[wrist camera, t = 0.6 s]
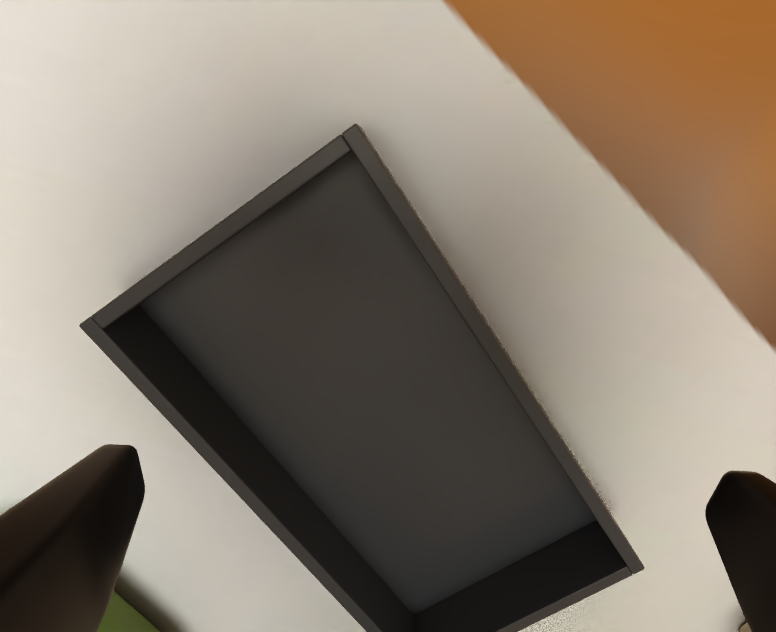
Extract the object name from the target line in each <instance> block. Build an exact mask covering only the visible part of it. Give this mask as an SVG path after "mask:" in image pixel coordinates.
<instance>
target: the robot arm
mask: <svg viewBox="0 0 776 632" xmlns="http://www.w3.org/2000/svg"><path fill="white" fill-rule="evenodd" d="M144 493H145V484H144V479H143V475H142V470H141V466H140V461H139V457H138V453H137V450H136V449H135V448H134V447H133V446H130V445H111V444H109V445H104V446H102V447H100V448H98V449H97V450H95V451H94V452H92V453H91V454H89V455H88V456H86V457H85V458H84V459H82V460H81V461H79V462H78V463H76V464H75V465H73V466H72V467H70V468H69V469H68V470H66V471H65V472H63V473H62V474H60V475H59V476H57V477H56V478H54V479H53V480H51V481H50V482H49V483H47V484H46V485H44V486H43V487H41V488H40V489H38V490H37V491H35V492H34V493H33V494H31V495H30V496H28V497H27V498H25V499H24V500H22V501H21V502H19V503H18V504H17V505H15V506H14V507H12V508H11V509H9V510H8V511H6V512H5V513H3V514H2V515H0V632H97V631H98V628H99V626H100V624H101V621H102V619H103V617H104V614H105V612H106V610H107V607H108V605H109V602H110V599H111V596H112V593H113V591H114V588H115V585H116V582H117V579H118V576H119V573H120V570H121V567H122V563H123V560H124V557H125V554H126V551H127V548H128V545H129V542H130V539H131V536H132V533H133V530H134V527H135V524H136V521H137V518H138V515H139V512H140V509H141V506H142V503H143V499H144ZM706 520H707V524H708V526H709V529H710V531H711V534H712V536H713V539H714V541H715V544H716V546H717V549H718V551H719V554H720V556H721V559H722V561H723V564H724V566H725V569H726V572H727V574H728V577H729V579H730V582H731V584H732V587H733V589H734V592H735V594H736V597H737V599H738V602H739V604H740V607H741V609H742V611H743V614H744V616H745V618H746V621H747V623H748V625H749V627H750V629H751V631H752V632H776V483H774V482H772V481H771V480H769V479H767V478H766V477H764V476H763V475H761V474H759V473H756V472H750V471H729V472H727V473H725V474H724V475H723V477H722V478H721V480H720V482H719V484H718V485H717V487H716V489H715V491H714V493H713V495H712V496H711V498H710V500H709V502H708V504H707V506H706Z"/></svg>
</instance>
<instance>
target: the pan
mask: <svg viewBox="0 0 776 632" xmlns="http://www.w3.org/2000/svg"><path fill="white" fill-rule="evenodd" d="M80 327H81V328H82V330H83V331H84V332H85V333H86V334H87V335H88V336H89V337H90V338H91V339H92V340H93V341H94V342H95V343H96V344H97V345H98V347H99V348H100V349H101V350H102V351H103V352H104V353H105V354H106V355H107V356H108V357H109V358H110V359H111V360H112V361H113V363H114V364H115V365H116V366H117V367H118V368H119V369H120V370H121V371H122V372H123V373H124V374H125V375H126V376H127V377H128V378H129V380H130V381H131V382H132V383H133V384H134V385H135V386H136V387H137V388H138V389H139V390H140V391H141V392H142V393H143V394H144V395H145V397H146V398H147V399H148V400H149V401H150V402H151V403H152V404H153V405H154V406H155V407H156V408H157V409H158V410H159V411H160V412H161V414H162V415H163V416H164V417H165V418H166V419H167V420H168V421H169V422H170V423H171V424H172V425H173V426H174V427H175V428H176V429H177V431H178V432H179V433H180V434H181V435H182V436H183V437H184V438H185V439H186V440H187V441H188V442H189V443H190V444H191V445H192V446H193V448H194V449H195V450H196V451H197V452H198V453H199V454H200V455H201V456H202V457H203V458H204V459H205V460H206V461H207V462H208V463H209V465H210V466H211V467H212V468H213V469H214V470H215V471H216V472H217V473H218V474H219V475H220V476H221V477H222V478H223V479H224V480H225V482H226V483H227V484H228V485H229V486H230V487H231V488H232V489H233V490H234V491H235V492H236V493H237V494H238V495H239V496H240V497H241V499H242V500H243V501H244V502H245V503H246V504H247V505H248V506H249V507H250V508H251V509H252V510H253V511H254V512H255V513H256V514H257V516H258V517H259V518H260V519H261V520H262V521H263V522H264V523H265V524H266V525H267V526H268V527H269V528H270V529H271V530H272V532H273V533H274V534H275V535H276V536H277V537H278V538H279V539H280V540H281V541H282V542H283V543H284V544H285V545H286V546H287V547H288V549H289V550H290V551H291V552H292V553H293V554H294V555H295V556H296V557H297V558H298V559H299V560H300V561H301V562H302V563H303V564H304V566H305V567H306V568H307V569H308V570H309V571H310V572H311V573H312V574H313V575H314V576H315V577H316V578H317V579H318V580H319V581H320V583H321V584H322V585H323V586H324V587H325V588H326V589H327V590H328V591H329V592H330V593H331V594H332V595H333V596H334V597H335V598H336V600H337V601H338V602H339V603H340V604H341V605H342V606H343V607H344V608H345V609H346V610H347V611H348V612H349V613H350V614H351V615H352V617H353V618H354V619H355V620H356V621H357V622H358V623H359V624H360V625H361V626H362V627H363V628H364V629H365V630H366V631H367V632H518V631H520V630H522V629H524V628H526V627H528V626H530V625H532V624H534V623H536V622H538V621H540V620H542V619H544V618H546V617H548V616H550V615H552V614H554V613H556V612H558V611H560V610H562V609H564V608H566V607H568V606H570V605H572V604H574V603H576V602H578V601H581V600H583V599H585V598H587V597H589V596H591V595H593V594H595V593H597V592H599V591H601V590H603V589H605V588H607V587H609V586H611V585H613V584H615V583H617V582H619V581H621V580H623V579H625V578H627V577H629V576H631V575H632V573H633V574H635V573H637V572H639V571H641V570H643V569H644V566H643V564H642V563H641V561H640V560H639V558H638V556H637V555H636V553H635V552H634V550H633V548H632V547H631V545H630V544H629V542H628V540H627V539H626V537H625V536H624V534H623V532H622V531H621V529H620V528H619V526H618V524H617V523H616V521H615V520H614V518H613V517H612V515H611V513H610V512H609V510H608V509H607V507H606V506H605V504H604V503H603V501H602V500H601V498H600V496H599V495H598V493H597V492H596V490H595V489H594V487H593V486H592V484H591V483H590V481H589V479H588V478H587V476H586V475H585V473H584V472H583V470H582V469H581V467H580V466H579V464H578V462H577V461H576V459H575V458H574V456H573V455H572V453H571V452H570V450H569V449H568V447H567V445H566V444H565V442H564V441H563V439H562V438H561V436H560V435H559V433H558V432H557V430H556V428H555V427H554V425H553V424H552V422H551V421H550V419H549V418H548V416H547V415H546V413H545V411H544V410H543V408H542V407H541V405H540V404H539V402H538V401H537V399H536V398H535V396H534V394H533V393H532V391H531V390H530V388H529V387H528V385H527V384H526V382H525V381H524V379H523V377H522V376H521V374H520V373H519V371H518V370H517V368H516V367H515V365H514V364H513V362H512V360H511V359H510V357H509V356H508V354H507V353H506V351H505V350H504V348H503V347H502V345H501V343H500V342H499V340H498V339H497V337H496V336H495V334H494V333H493V331H492V330H491V328H490V326H489V325H488V323H487V322H486V320H485V319H484V317H483V316H482V314H481V313H480V311H479V309H478V308H477V306H476V305H475V303H474V302H473V300H472V299H471V297H470V296H469V294H468V292H467V291H466V289H465V288H464V286H463V285H462V283H461V282H460V280H459V279H458V277H457V275H456V274H455V272H454V271H453V269H452V268H451V266H450V265H449V263H448V262H447V260H446V258H445V257H444V255H443V254H442V252H441V251H440V249H439V248H438V246H437V245H436V243H435V241H434V240H433V238H432V237H431V235H430V234H429V232H428V231H427V229H426V228H425V226H424V224H423V223H422V221H421V220H420V218H419V217H418V215H417V214H416V212H415V211H414V209H413V207H412V206H411V204H410V203H409V201H408V200H407V198H406V197H405V195H404V194H403V192H402V190H401V189H400V187H399V186H398V184H397V183H396V181H395V180H394V178H393V177H392V175H391V173H390V172H389V170H388V169H387V167H386V166H385V164H384V163H383V161H382V160H381V158H380V156H379V155H378V153H377V152H376V150H375V149H374V147H373V146H372V144H371V143H370V141H369V139H368V138H367V136H366V135H365V133H364V132H363V130H362V129H361V127H360V126H358V125H357V124H354V125H353V126H351V127H350V128H349V129H347V130H346V131H345V132H343V133H342V135H339V136H338V137H336V138H335V139H334V140H332V141H331V142H329V143H328V144H327V145H325V146H324V147H323V148H321V149H320V150H318V151H317V152H316V153H314V154H313V155H312V156H310V157H309V158H308V159H306V160H305V161H303V162H302V163H301V164H299V165H298V166H297V167H295V168H294V169H292V170H291V171H290V172H288V173H287V174H286V175H284V176H283V177H281V178H280V179H279V180H277V181H276V182H275V183H273V184H272V185H270V186H269V187H268V188H266V189H265V190H264V191H262V192H261V193H259V194H258V195H257V196H255V197H254V198H253V199H251V200H250V201H248V202H247V203H246V204H244V205H243V206H242V207H240V208H239V209H238V210H236V211H235V212H233V213H232V214H231V215H229V216H228V217H227V218H225V219H224V220H222V221H221V222H220V223H218V224H217V225H216V226H214V227H213V228H211V229H210V230H209V231H207V232H206V233H205V234H203V235H202V236H200V237H199V238H198V239H196V240H195V241H194V242H192V243H191V244H189V245H188V246H187V247H185V248H184V249H183V250H181V251H180V252H179V253H177V254H176V255H174V256H173V257H172V258H170V259H169V260H168V261H166V262H165V263H163V264H162V265H161V266H159V267H158V268H157V269H155V270H154V271H152V272H151V273H150V274H148V275H147V276H146V277H144V278H143V279H141V280H140V281H139V282H137V283H136V284H135V285H133V286H132V287H130V288H129V289H128V290H126V291H125V292H124V293H122V294H121V295H119V296H118V297H117V298H115V299H114V300H113V301H111V302H110V303H109V304H107V305H106V306H104V307H103V308H102V309H100V310H99V311H98V312H96V313H95V314H93V315H92V316H91V317H89V318H88V319H87V320H85V321H84V322H82V323H81V324H80Z"/></svg>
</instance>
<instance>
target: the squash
mask: <svg viewBox="0 0 776 632" xmlns="http://www.w3.org/2000/svg"><path fill="white" fill-rule="evenodd" d="M97 632H160V631H159V630H158V629H157V628H155V627H154V626H153V625H152V624H151V623H150V622H149V621H147V620H146V619H145V618H144V617H143V616H142V615H141V614H140V613H138V612H137V611H136V610H135V609H134V608H133V607H132V606H131V605H129V604H128V603H127V602H126V601H125V600H124V599H123V598H121V597H120V596H119V595H118V594H117V593H116V592H115V591H113V593H112V596H111V599H110V602H109V605H108V607H107V610H106V612H105V614H104V617H103V619H102V621H101V624H100V626H99V628H98V631H97Z"/></svg>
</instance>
